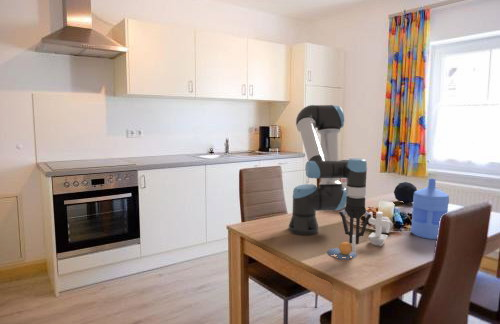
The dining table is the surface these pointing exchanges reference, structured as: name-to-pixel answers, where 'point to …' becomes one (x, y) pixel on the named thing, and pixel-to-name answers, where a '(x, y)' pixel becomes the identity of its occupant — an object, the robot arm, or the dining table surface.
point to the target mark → (339, 255)
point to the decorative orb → (405, 192)
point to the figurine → (378, 229)
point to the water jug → (428, 210)
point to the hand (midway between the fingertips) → (353, 250)
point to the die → (384, 226)
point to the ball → (345, 248)
